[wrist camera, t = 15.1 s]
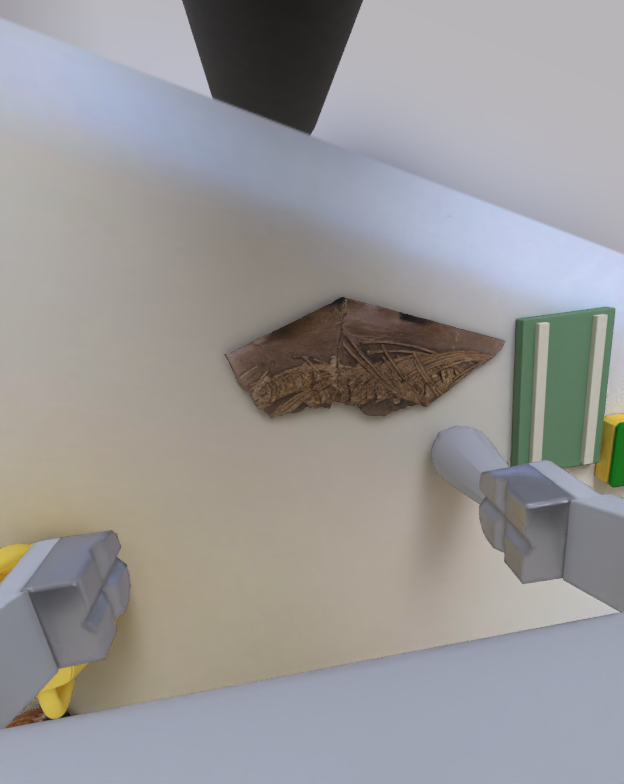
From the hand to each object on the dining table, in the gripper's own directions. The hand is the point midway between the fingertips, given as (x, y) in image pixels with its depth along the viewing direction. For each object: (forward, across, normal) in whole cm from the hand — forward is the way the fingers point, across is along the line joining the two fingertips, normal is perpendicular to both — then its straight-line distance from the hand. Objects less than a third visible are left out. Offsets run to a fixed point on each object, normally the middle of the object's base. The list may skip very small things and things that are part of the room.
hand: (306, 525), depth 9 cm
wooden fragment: (+29, -8, +4) cm, 31 cm away
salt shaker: (+29, -16, +14) cm, 36 cm away
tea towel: (+29, -27, +10) cm, 41 cm away
